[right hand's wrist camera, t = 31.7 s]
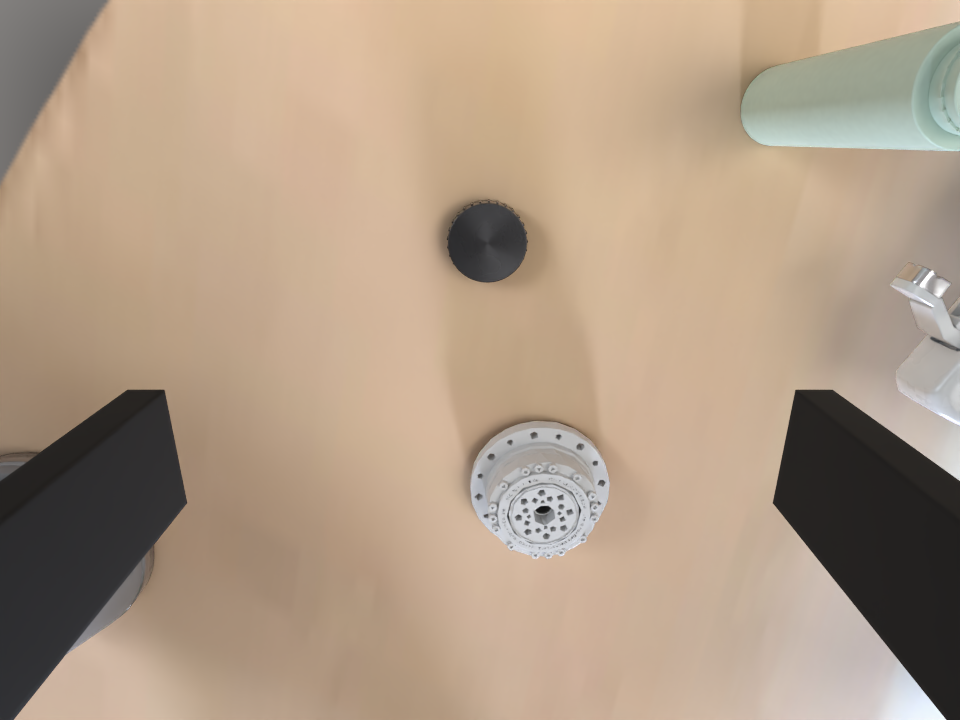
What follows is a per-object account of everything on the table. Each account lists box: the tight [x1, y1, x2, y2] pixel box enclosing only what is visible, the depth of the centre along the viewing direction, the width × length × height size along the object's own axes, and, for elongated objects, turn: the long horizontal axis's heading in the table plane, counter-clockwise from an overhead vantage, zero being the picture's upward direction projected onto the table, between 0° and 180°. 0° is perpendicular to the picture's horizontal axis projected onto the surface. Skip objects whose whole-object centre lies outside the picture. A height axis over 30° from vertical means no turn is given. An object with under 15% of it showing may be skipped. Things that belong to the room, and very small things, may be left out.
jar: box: [741, 22, 960, 151], centre depth 28 cm, size 4×4×16 cm
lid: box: [447, 199, 528, 282], centre depth 37 cm, size 5×5×2 cm
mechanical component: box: [470, 421, 610, 559], centre depth 42 cm, size 10×4×10 cm
